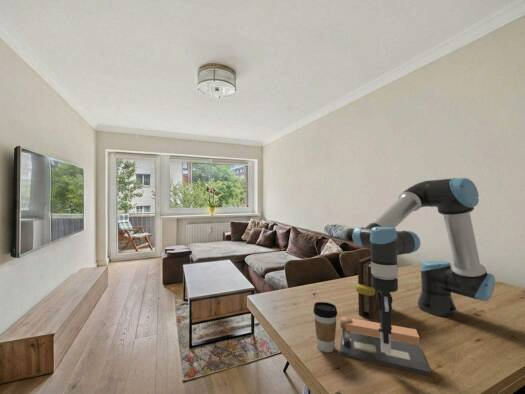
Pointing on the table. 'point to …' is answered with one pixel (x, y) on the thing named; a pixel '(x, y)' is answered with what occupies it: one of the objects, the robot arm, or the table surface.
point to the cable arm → (373, 330)
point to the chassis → (370, 351)
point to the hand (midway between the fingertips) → (385, 351)
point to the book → (366, 290)
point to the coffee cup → (325, 325)
